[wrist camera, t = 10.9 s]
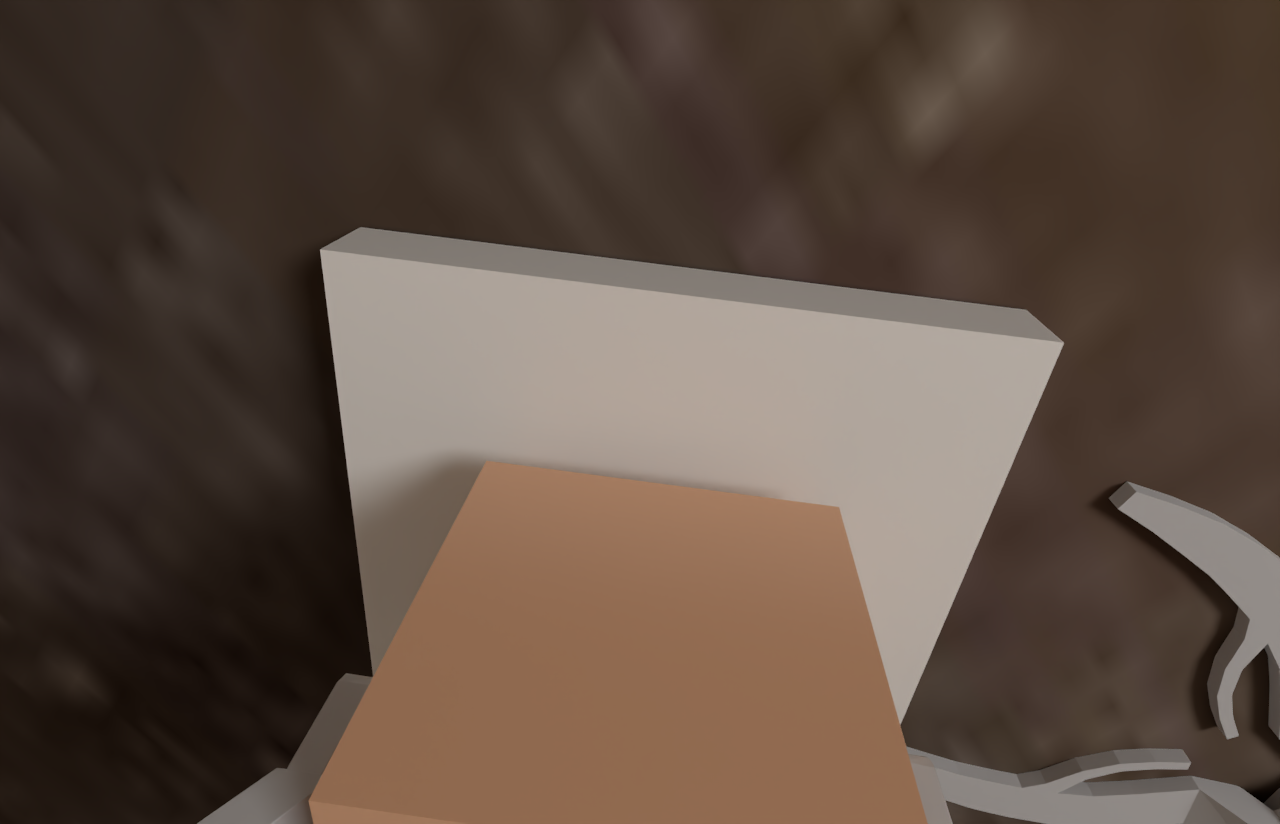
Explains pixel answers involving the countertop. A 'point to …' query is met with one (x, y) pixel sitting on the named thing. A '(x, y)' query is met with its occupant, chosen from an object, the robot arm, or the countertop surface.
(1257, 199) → the countertop surface
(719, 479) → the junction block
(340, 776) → the tan cardboard cube
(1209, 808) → the pliers
